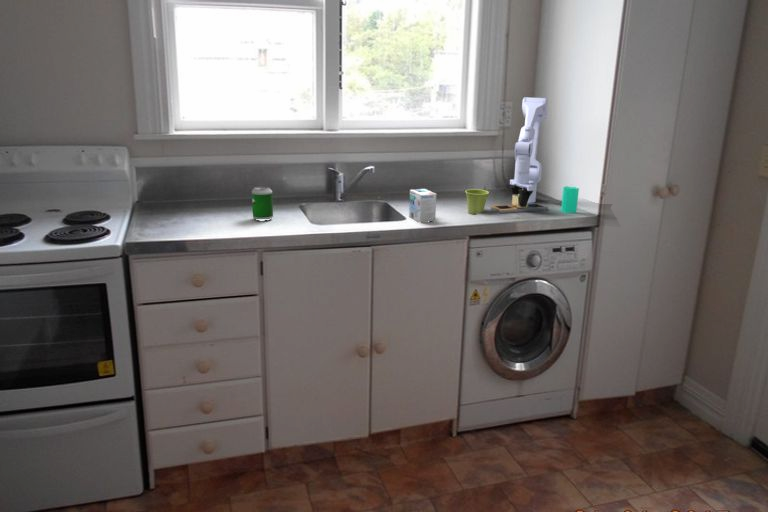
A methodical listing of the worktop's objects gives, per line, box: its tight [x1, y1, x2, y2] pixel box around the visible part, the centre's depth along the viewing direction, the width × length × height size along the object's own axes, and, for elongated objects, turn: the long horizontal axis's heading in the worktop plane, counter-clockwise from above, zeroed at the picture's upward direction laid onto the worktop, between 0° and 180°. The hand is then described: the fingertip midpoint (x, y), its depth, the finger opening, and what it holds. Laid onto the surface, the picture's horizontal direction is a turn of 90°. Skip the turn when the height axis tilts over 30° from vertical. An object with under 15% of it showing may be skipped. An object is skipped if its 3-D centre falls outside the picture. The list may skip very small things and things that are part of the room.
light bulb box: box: [408, 188, 437, 223], centre depth 251 cm, size 11×7×11 cm, turn 22°
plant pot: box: [464, 188, 490, 215], centre depth 263 cm, size 9×9×9 cm
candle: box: [560, 183, 580, 214], centre depth 264 cm, size 6×6×12 cm
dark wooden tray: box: [490, 203, 549, 214], centre depth 267 cm, size 7×22×2 cm, turn 109°
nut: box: [511, 194, 529, 209], centre depth 266 cm, size 4×4×6 cm
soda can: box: [251, 186, 274, 220], centre depth 246 cm, size 8×8×12 cm
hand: (519, 205), depth 266 cm, fingers open, 5 cm apart
